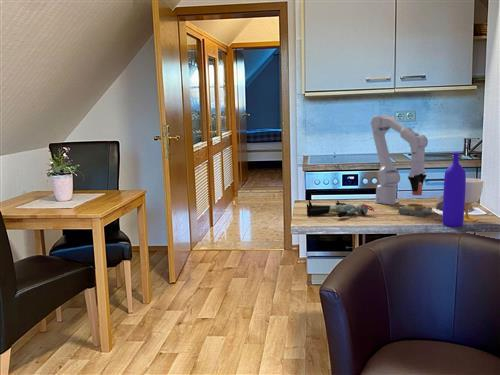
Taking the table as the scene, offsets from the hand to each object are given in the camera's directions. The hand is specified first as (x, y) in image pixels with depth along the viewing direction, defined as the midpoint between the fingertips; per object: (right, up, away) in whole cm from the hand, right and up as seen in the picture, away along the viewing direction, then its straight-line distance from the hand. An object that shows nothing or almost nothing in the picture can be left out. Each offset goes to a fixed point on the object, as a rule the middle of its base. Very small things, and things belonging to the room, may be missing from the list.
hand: (416, 190), depth 240 cm
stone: (+18, -9, +1) cm, 20 cm away
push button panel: (-3, -10, -7) cm, 13 cm away
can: (0, -2, 0) cm, 2 cm away
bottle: (+5, -14, -29) cm, 33 cm away
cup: (+15, -12, -19) cm, 27 cm away
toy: (-37, -11, -4) cm, 38 cm away
